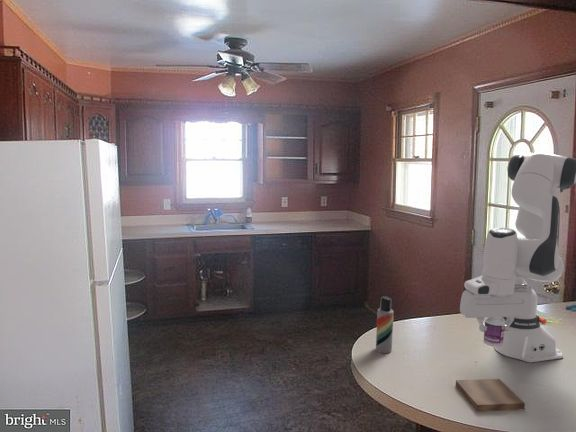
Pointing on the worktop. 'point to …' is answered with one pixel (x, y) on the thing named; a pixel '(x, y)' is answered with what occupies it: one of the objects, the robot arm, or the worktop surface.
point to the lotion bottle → (384, 326)
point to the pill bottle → (494, 331)
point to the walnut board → (489, 395)
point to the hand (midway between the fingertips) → (494, 330)
